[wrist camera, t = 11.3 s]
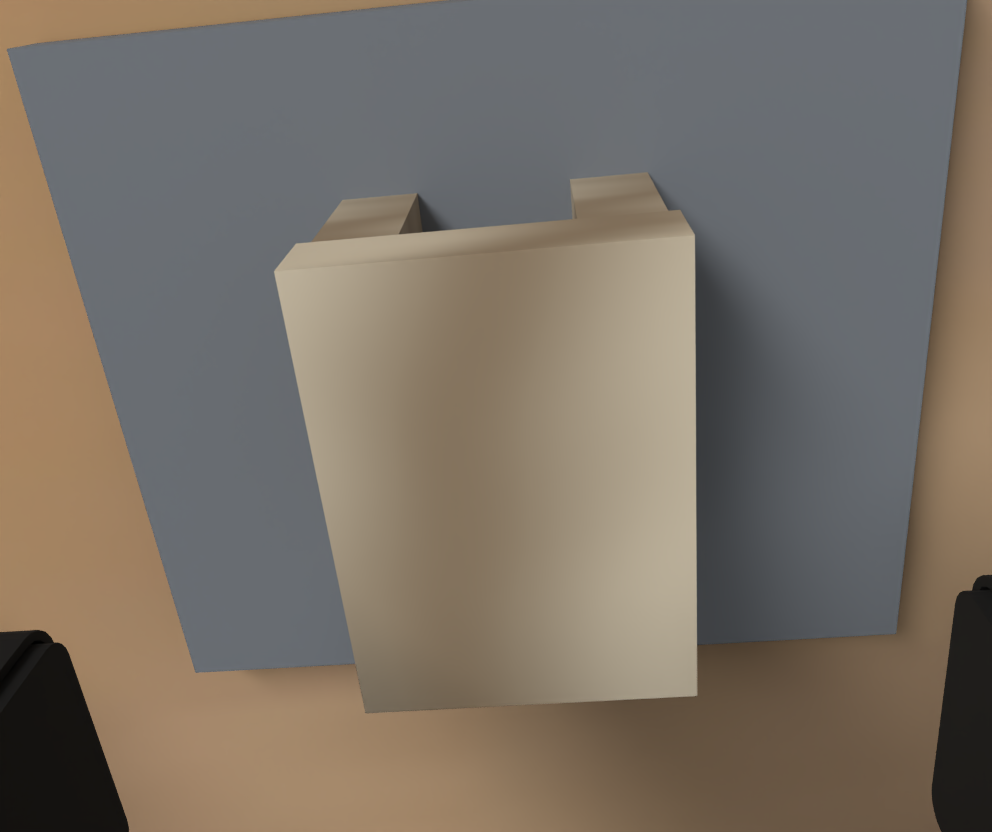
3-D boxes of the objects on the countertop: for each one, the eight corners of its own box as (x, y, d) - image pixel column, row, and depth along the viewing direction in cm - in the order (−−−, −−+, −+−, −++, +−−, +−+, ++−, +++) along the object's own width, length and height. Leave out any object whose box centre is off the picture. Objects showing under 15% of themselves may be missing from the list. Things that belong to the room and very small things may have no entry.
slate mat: (879, 601, 19) (896, 634, 18) (210, 640, 20) (195, 672, 19) (943, -52, 14) (973, -51, 13) (38, 43, 15) (6, 49, 14)
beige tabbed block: (653, 164, 15) (694, 235, 11) (662, 544, 18) (697, 696, 14) (335, 194, 15) (274, 270, 11) (397, 561, 18) (365, 712, 14)
